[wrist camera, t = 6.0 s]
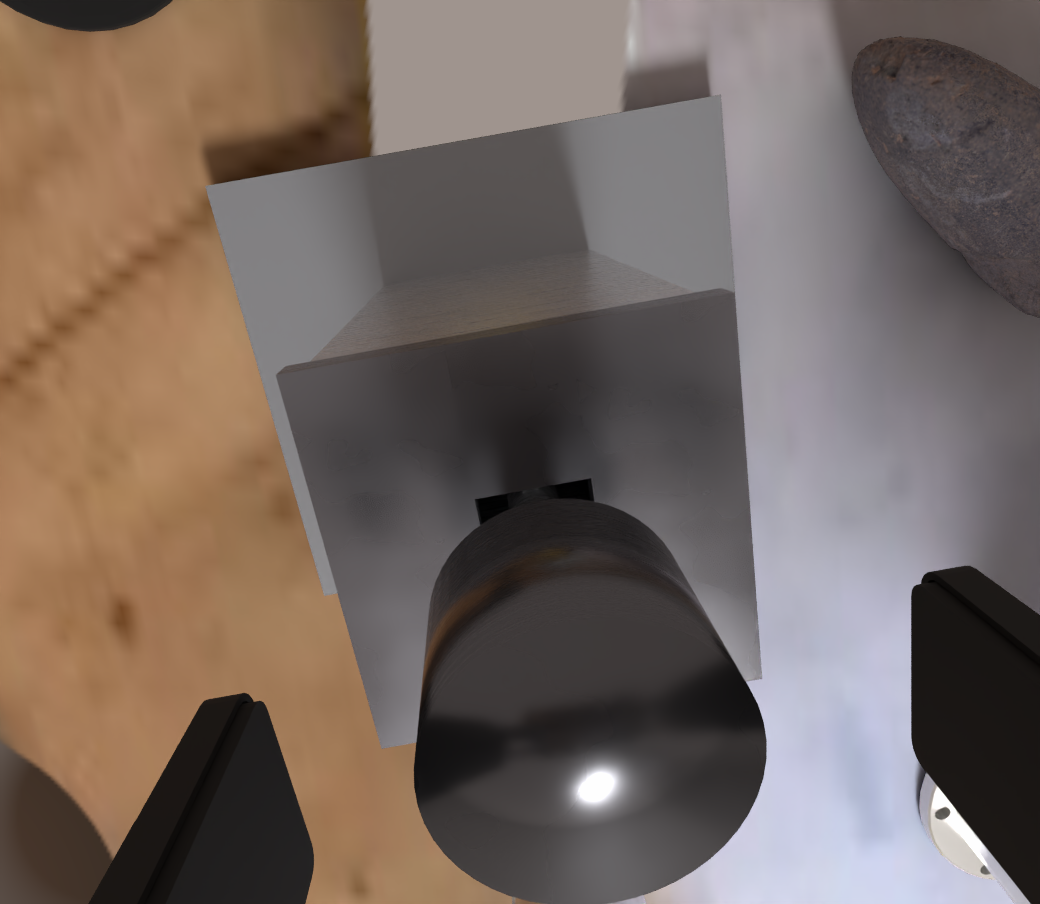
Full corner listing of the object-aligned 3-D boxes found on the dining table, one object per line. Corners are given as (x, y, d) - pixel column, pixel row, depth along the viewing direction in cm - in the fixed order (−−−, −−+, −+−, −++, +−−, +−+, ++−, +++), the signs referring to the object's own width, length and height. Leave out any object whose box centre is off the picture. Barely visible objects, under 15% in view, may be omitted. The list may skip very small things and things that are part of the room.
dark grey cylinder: (558, 321, 27) (755, 587, 9) (575, 434, 28) (775, 871, 10) (439, 342, 27) (377, 656, 8) (462, 455, 28) (452, 933, 10)
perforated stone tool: (786, 113, 30) (875, 88, 24) (881, -1, 29) (1002, -60, 22) (1011, 342, 34) (1142, 376, 27) (1103, 248, 33) (1262, 261, 26)
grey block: (593, 243, 30) (734, 292, 14) (627, 506, 34) (769, 778, 18) (377, 281, 30) (275, 374, 14) (436, 541, 34) (409, 845, 18)
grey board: (710, 98, 30) (720, 94, 28) (741, 507, 36) (750, 517, 34) (215, 186, 29) (205, 186, 28) (329, 583, 35) (324, 595, 34)
